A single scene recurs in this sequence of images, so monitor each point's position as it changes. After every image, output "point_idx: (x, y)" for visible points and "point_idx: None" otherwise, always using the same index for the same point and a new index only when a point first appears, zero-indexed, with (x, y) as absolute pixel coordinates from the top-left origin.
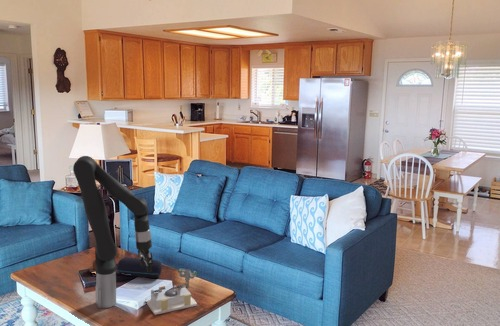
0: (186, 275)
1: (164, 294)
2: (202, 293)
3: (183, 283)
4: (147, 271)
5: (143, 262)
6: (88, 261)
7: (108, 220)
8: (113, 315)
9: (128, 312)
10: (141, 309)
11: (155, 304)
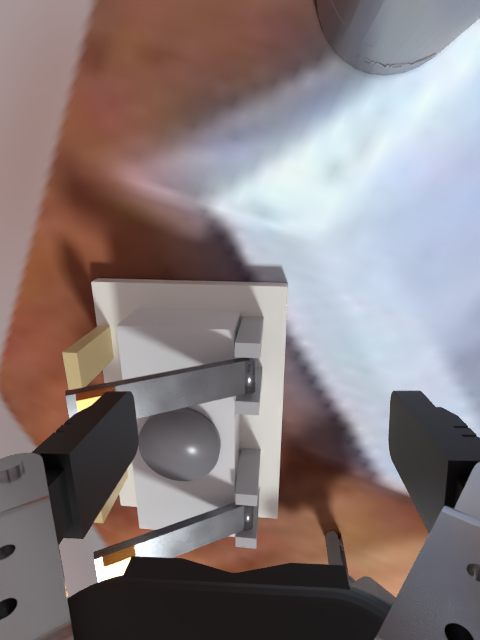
0: None
1: None
2: (234, 562)
3: (103, 562)
4: (105, 396)
5: (412, 462)
6: None
7: None
8: (183, 4)
9: (185, 130)
10: (192, 226)
11: (151, 314)
